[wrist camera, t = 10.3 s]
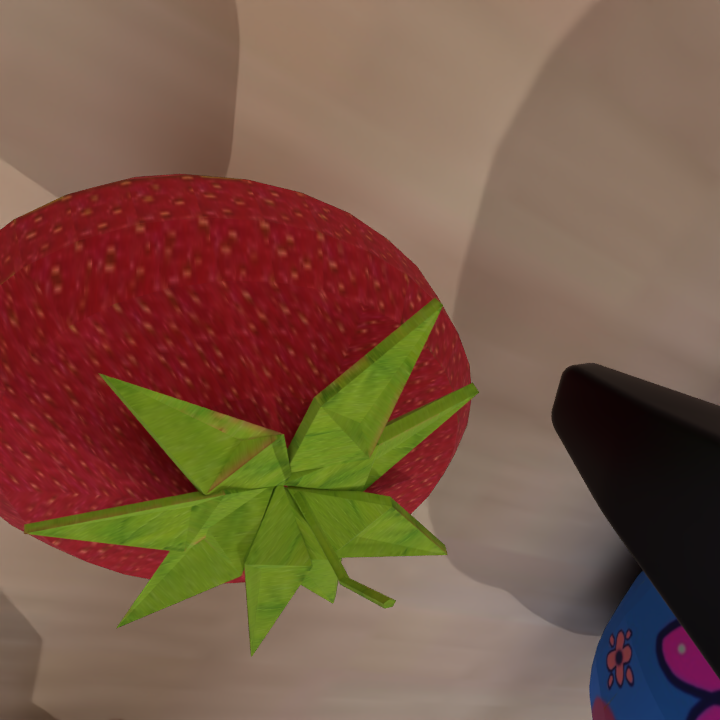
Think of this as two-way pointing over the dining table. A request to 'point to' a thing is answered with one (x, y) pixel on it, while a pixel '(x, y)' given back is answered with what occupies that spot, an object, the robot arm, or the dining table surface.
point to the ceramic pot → (650, 665)
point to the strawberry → (221, 389)
